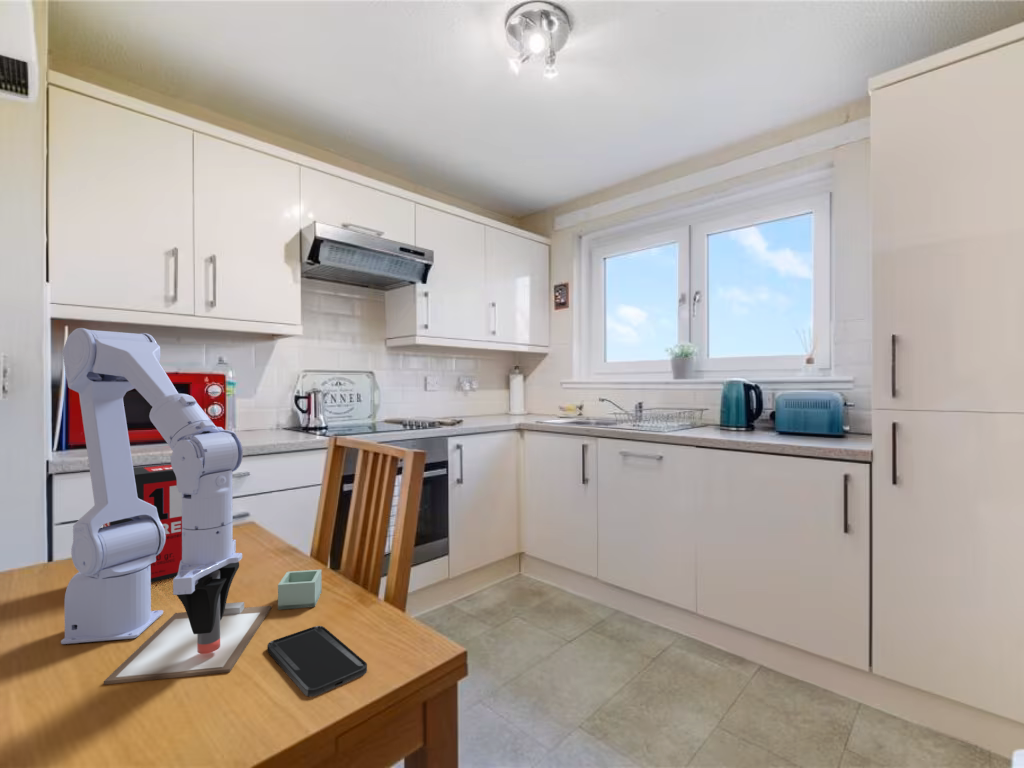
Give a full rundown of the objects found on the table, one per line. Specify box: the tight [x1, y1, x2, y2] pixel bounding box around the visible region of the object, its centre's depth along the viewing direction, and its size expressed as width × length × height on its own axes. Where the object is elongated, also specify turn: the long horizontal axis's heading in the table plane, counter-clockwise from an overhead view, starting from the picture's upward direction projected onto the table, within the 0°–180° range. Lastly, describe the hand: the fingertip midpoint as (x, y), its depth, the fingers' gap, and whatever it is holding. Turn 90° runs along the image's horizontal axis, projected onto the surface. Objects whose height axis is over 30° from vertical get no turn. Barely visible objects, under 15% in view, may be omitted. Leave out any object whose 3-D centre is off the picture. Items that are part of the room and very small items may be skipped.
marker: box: [197, 570, 220, 654], centre depth 66 cm, size 3×3×10 cm
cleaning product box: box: [102, 463, 182, 584], centre depth 95 cm, size 16×9×20 cm, turn 136°
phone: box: [266, 625, 368, 698], centre depth 66 cm, size 8×1×15 cm
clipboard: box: [103, 601, 272, 685], centre depth 70 cm, size 14×18×1 cm
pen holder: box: [277, 568, 323, 610], centre depth 83 cm, size 6×6×4 cm
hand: (208, 626), depth 66 cm, fingers closed on marker, 3 cm apart
